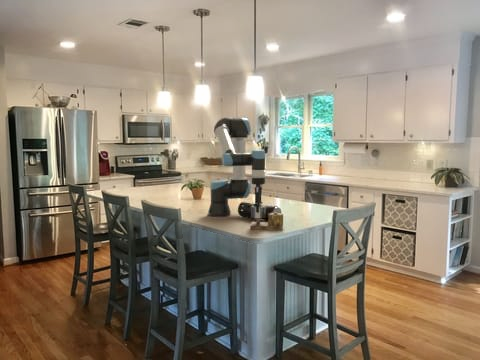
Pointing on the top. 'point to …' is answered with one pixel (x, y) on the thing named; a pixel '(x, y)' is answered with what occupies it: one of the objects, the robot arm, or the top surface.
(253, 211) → the steel gear
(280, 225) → the gear board
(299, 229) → the top surface
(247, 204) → the muzzle brake
